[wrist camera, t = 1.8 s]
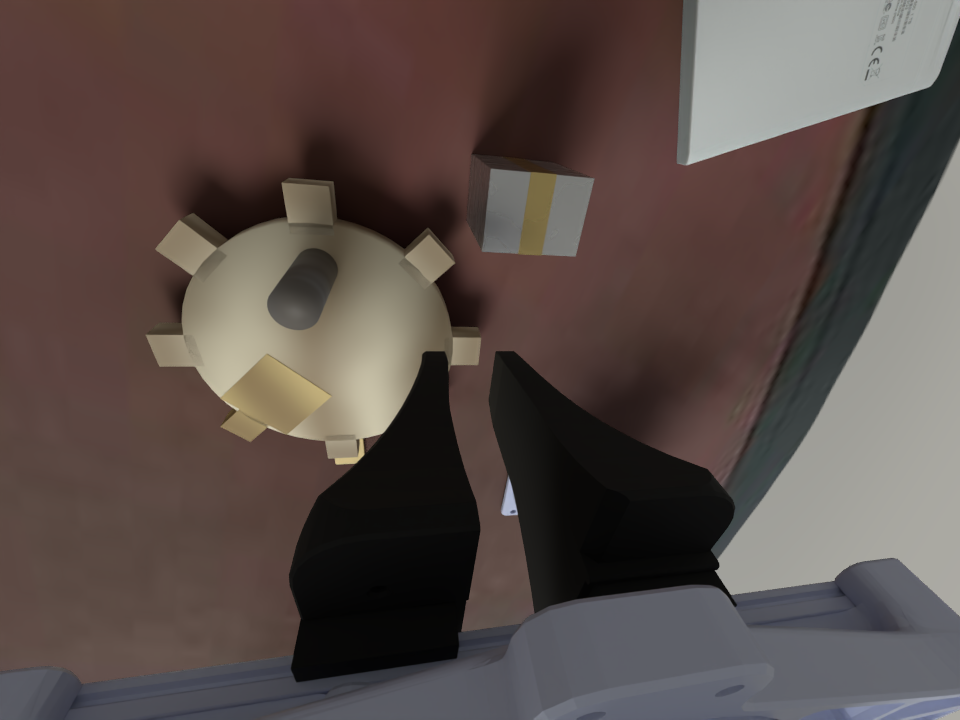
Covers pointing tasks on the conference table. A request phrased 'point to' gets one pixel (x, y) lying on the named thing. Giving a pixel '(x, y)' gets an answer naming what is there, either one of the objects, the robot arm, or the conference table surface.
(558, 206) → the white small box
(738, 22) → the external hard drive
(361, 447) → the plate
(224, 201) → the conference table surface
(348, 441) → the sprocket
